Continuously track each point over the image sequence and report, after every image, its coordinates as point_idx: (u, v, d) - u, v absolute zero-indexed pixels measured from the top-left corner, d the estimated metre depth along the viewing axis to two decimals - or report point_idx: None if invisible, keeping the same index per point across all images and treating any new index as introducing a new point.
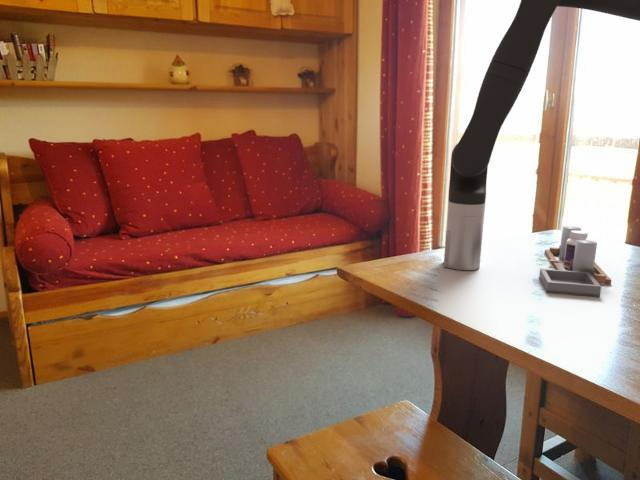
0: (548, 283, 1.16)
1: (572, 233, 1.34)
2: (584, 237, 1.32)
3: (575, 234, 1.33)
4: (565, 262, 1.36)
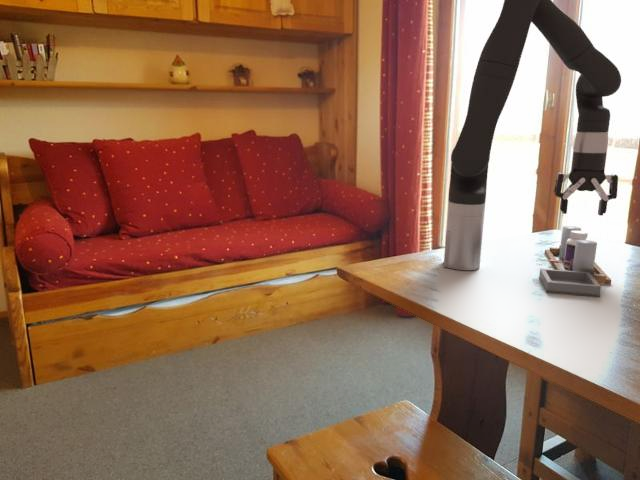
0: (548, 283, 1.16)
1: (572, 233, 1.34)
2: (584, 237, 1.32)
3: (575, 234, 1.33)
4: (565, 262, 1.36)
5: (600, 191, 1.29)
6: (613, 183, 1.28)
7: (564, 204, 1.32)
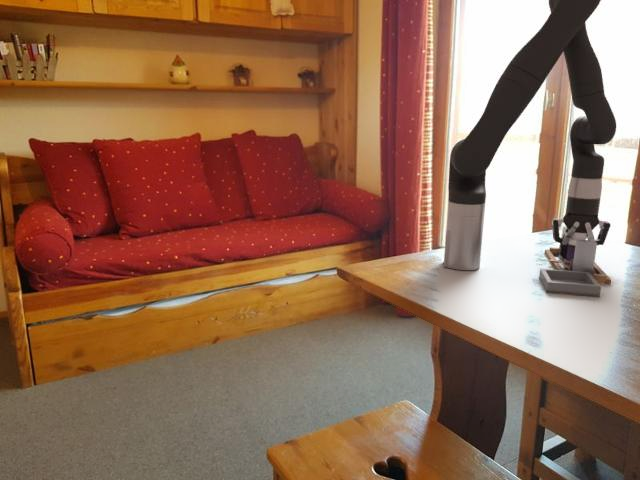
0: (548, 283, 1.16)
1: None
2: (584, 237, 1.32)
3: (575, 234, 1.33)
4: (565, 262, 1.36)
5: (590, 236, 1.32)
6: (604, 230, 1.31)
7: (563, 249, 1.35)
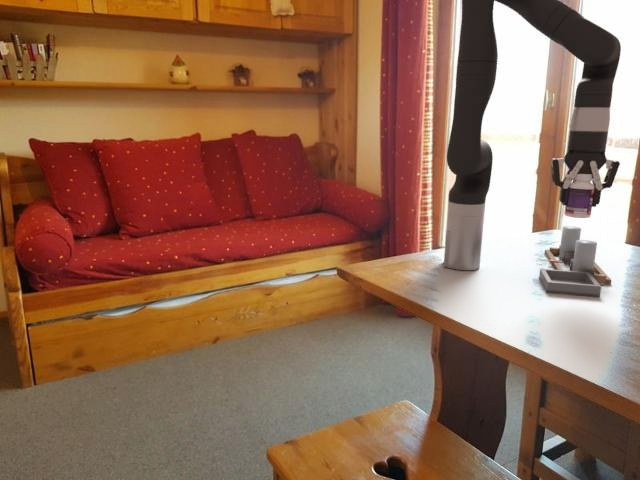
0: (548, 283, 1.16)
1: None
2: (589, 179, 1.13)
3: (578, 175, 1.13)
4: (566, 209, 1.16)
5: (596, 177, 1.13)
6: (612, 170, 1.12)
7: (564, 194, 1.16)
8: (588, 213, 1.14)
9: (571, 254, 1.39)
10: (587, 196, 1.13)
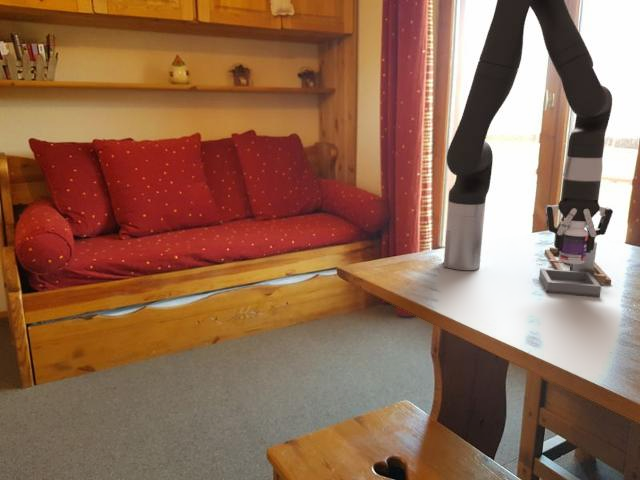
0: (548, 283, 1.16)
1: None
2: (582, 226, 1.15)
3: (572, 223, 1.15)
4: (561, 255, 1.18)
5: (589, 225, 1.15)
6: (605, 217, 1.14)
7: (559, 240, 1.18)
8: (582, 259, 1.16)
9: None
10: (581, 243, 1.15)
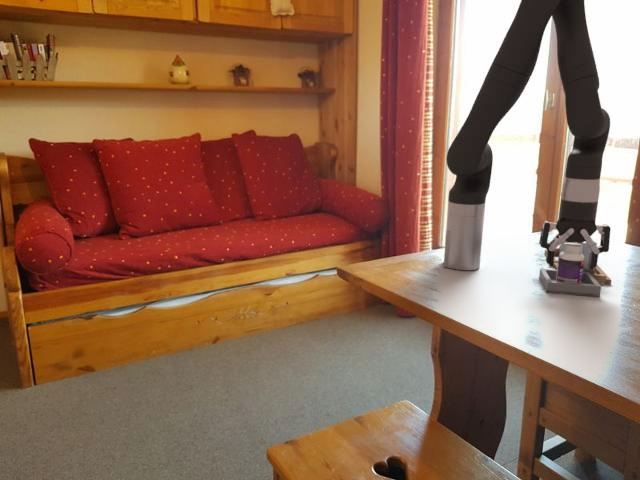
0: (548, 283, 1.16)
1: (565, 246, 1.18)
2: (579, 251, 1.16)
3: (569, 247, 1.17)
4: (557, 279, 1.20)
5: (590, 243, 1.15)
6: (605, 235, 1.15)
7: (550, 256, 1.19)
8: None
9: None
10: (577, 268, 1.17)
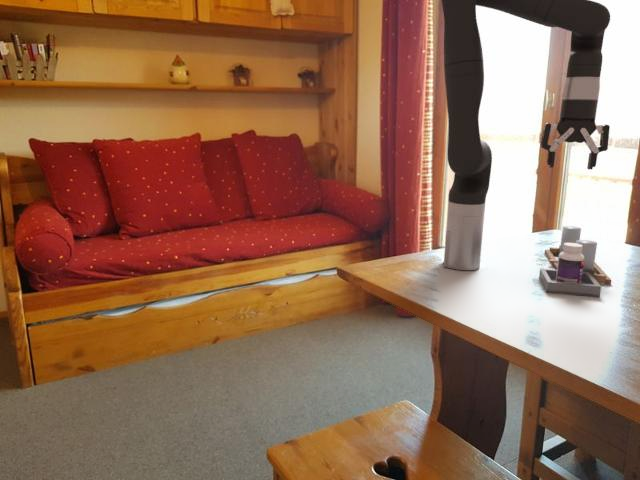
0: (548, 283, 1.16)
1: (565, 246, 1.18)
2: (579, 251, 1.16)
3: (568, 247, 1.17)
4: (557, 279, 1.20)
5: (590, 142, 1.19)
6: (604, 134, 1.19)
7: (551, 157, 1.23)
8: None
9: None
10: (577, 268, 1.17)
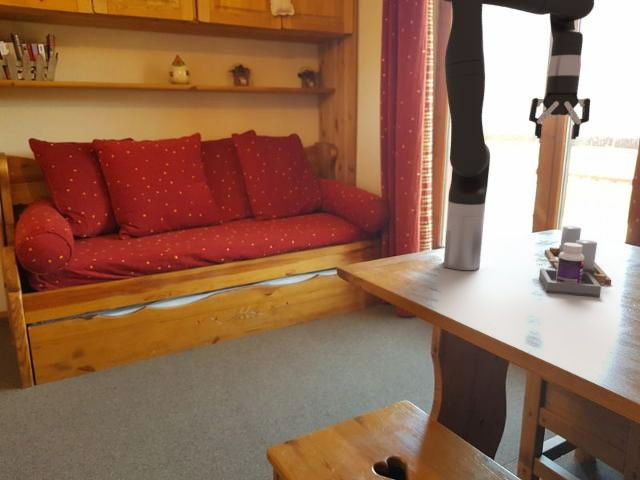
0: (548, 283, 1.16)
1: (565, 246, 1.18)
2: (579, 251, 1.16)
3: (568, 247, 1.17)
4: (557, 279, 1.20)
5: (573, 114, 1.33)
6: (585, 106, 1.32)
7: (538, 129, 1.36)
8: None
9: None
10: (577, 268, 1.17)
